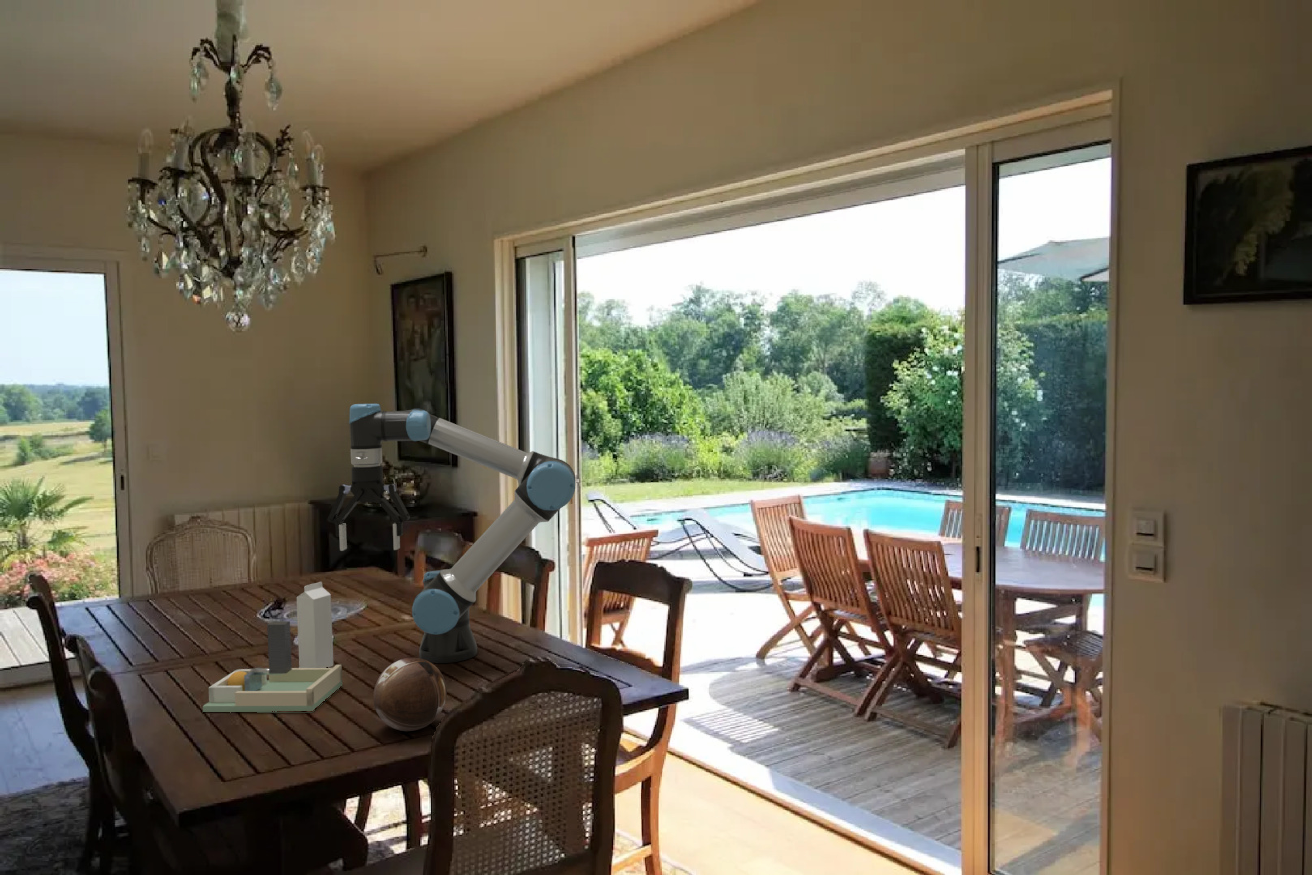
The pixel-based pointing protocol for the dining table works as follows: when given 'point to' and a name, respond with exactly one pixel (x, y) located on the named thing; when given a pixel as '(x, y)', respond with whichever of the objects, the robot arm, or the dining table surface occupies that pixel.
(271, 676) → the pitch
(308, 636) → the milk
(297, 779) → the dining table surface
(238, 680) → the ball
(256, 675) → the kicker rod
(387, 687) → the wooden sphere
